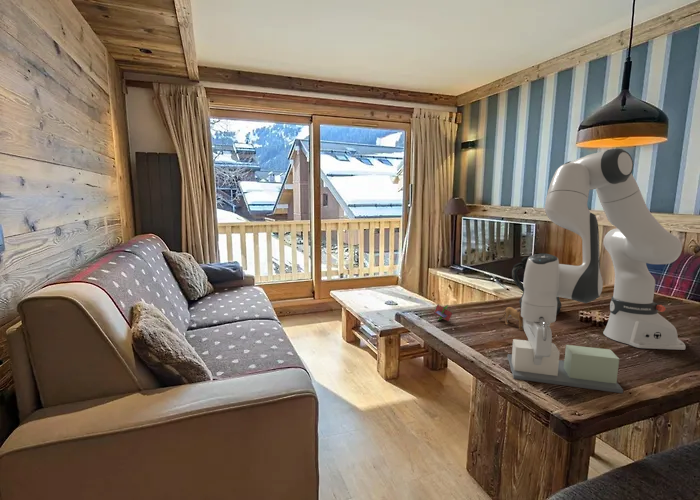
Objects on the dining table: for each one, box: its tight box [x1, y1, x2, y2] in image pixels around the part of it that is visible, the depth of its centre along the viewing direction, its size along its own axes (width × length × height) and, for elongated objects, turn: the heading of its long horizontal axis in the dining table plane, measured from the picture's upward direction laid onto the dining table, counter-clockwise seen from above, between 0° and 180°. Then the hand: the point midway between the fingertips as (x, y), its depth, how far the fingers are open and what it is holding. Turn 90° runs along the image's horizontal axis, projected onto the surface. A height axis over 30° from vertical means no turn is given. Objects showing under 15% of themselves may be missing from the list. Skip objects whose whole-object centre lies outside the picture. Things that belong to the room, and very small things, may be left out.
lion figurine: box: [498, 306, 524, 331], centre depth 140 cm, size 15×5×9 cm, turn 35°
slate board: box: [507, 353, 624, 394], centre depth 104 cm, size 26×14×1 cm, turn 73°
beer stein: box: [511, 252, 562, 316], centre depth 158 cm, size 16×19×25 cm
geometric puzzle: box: [433, 304, 453, 323], centre depth 146 cm, size 7×7×8 cm
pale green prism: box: [563, 344, 620, 384], centre depth 100 cm, size 11×6×7 cm, turn 73°
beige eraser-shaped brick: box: [511, 338, 561, 376], centre depth 104 cm, size 11×6×7 cm, turn 73°
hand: (534, 358), depth 105 cm, fingers closed on beige eraser-shaped brick, 6 cm apart
